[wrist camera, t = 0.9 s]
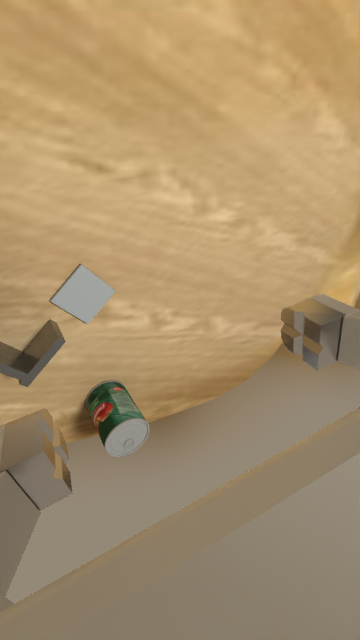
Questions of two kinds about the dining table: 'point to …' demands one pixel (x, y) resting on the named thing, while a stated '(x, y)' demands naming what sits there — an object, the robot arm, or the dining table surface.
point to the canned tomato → (117, 418)
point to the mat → (82, 294)
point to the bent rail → (31, 354)
